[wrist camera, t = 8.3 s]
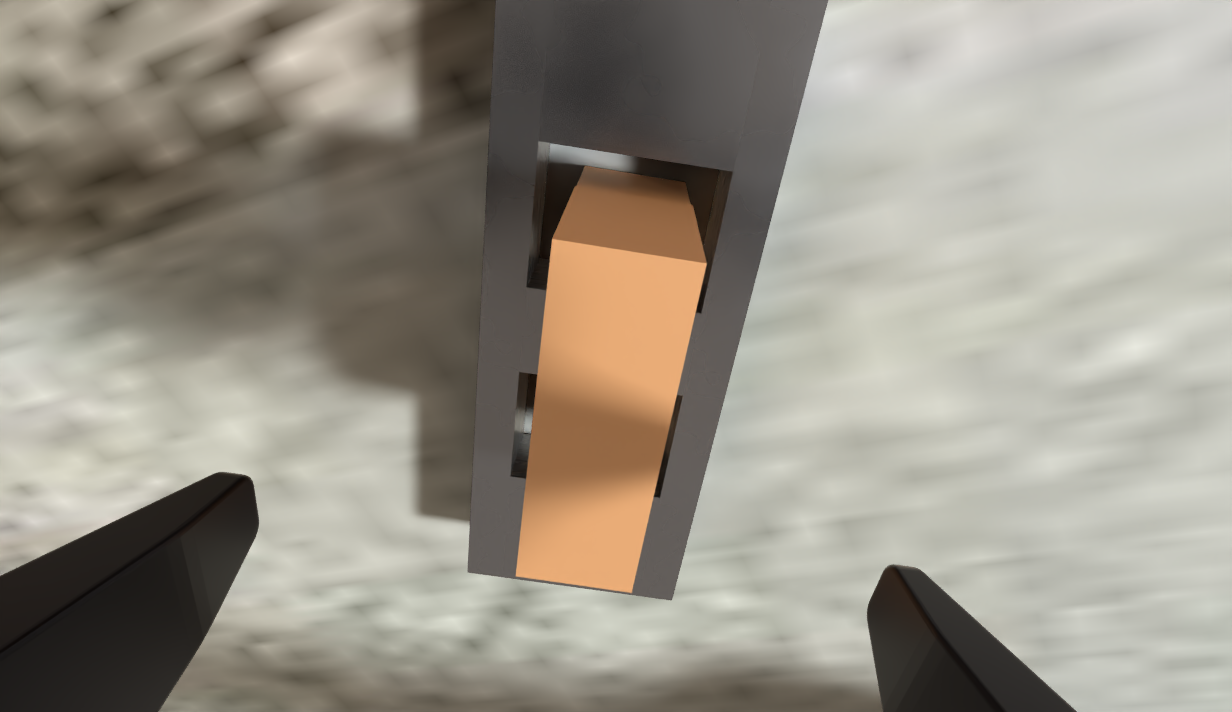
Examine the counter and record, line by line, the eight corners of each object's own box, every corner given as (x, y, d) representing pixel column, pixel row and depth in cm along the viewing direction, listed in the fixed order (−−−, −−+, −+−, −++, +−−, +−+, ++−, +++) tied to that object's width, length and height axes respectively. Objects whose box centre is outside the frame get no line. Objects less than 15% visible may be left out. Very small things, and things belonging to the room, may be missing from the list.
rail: (669, 550, 21) (672, 600, 19) (483, 524, 21) (467, 572, 19) (810, -24, 13) (836, -30, 11) (520, -72, 13) (500, -85, 11)
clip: (636, 428, 19) (631, 593, 13) (553, 416, 19) (516, 576, 13) (685, 178, 15) (706, 263, 10) (585, 161, 15) (552, 238, 10)
